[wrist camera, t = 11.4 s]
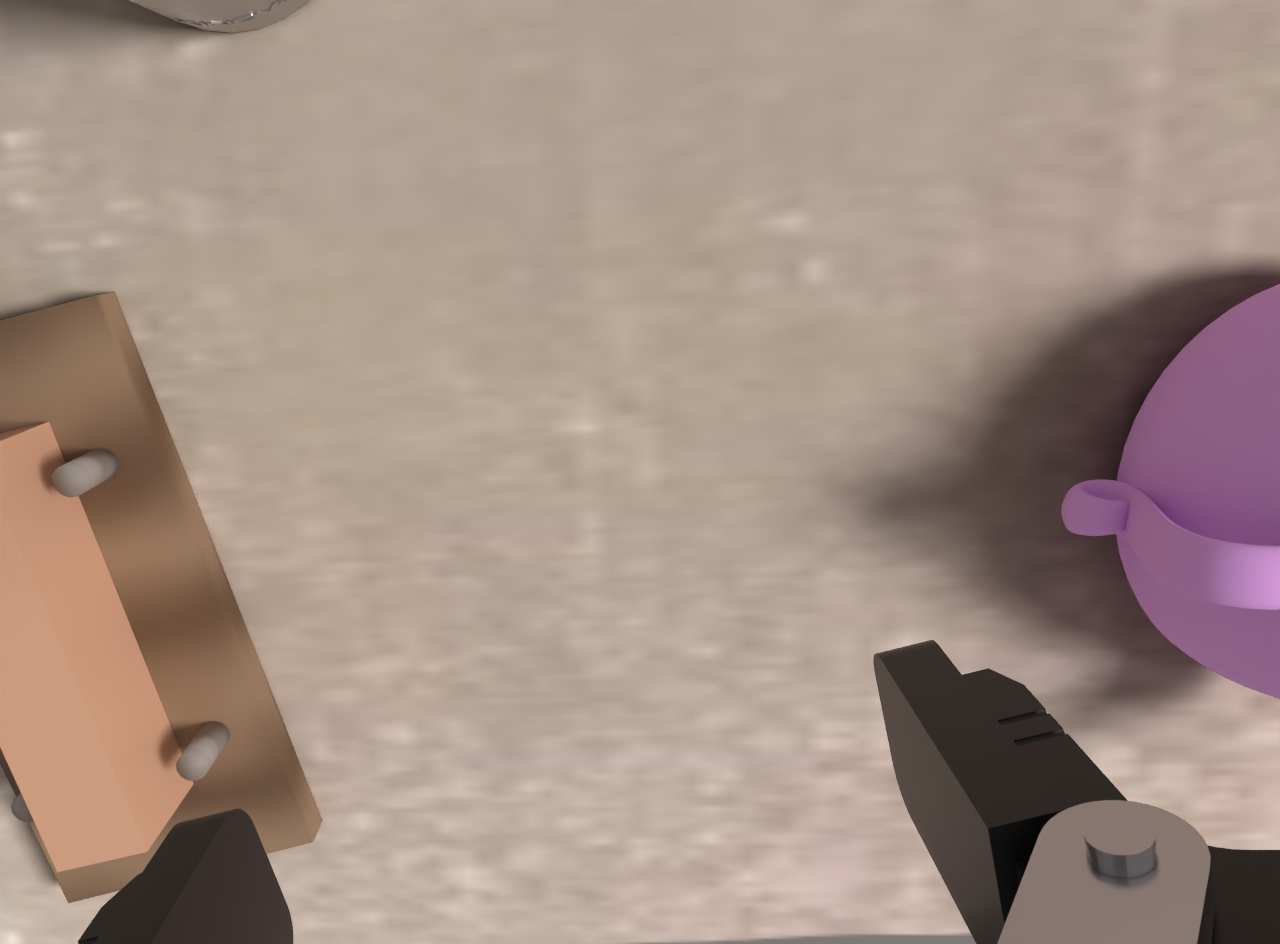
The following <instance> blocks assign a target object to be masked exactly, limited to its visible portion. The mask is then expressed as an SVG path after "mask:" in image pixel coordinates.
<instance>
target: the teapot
mask: <svg viewBox="0 0 1280 944" xmlns="http://www.w3.org/2000/svg"><path fill="white" fill-rule="evenodd" d="M1061 514H1062V518H1063V522H1064V524H1065V526H1066V528H1067V529H1068V530H1069V531H1070V532H1072V533H1075V534H1078V535H1086V536H1103V535H1112V534H1116V537H1117V543H1118V549H1119V554H1120V558H1121V561H1122V564H1123V567H1124V570H1125V573H1126V576H1127V579H1128V581H1129V584H1130V586H1131V588H1132V590H1133V592H1134V594H1135V596H1136V598H1137V600H1138V602H1139V604H1140V606H1141V608H1142V609H1143V610H1144V612H1145V613H1146V615H1147V616H1148V617H1149V619H1150V620H1151V622H1152V623H1153V624H1154V626H1155V627H1156V628H1157V629H1158V630H1159V631H1160V632H1161V633H1162V634H1163V635H1164V636H1165V637H1166V638H1167V639H1168V640H1169V641H1170V642H1171V643H1172V644H1174V645H1175V646H1176V647H1178V648H1179V649H1180V650H1182V651H1183V652H1184V653H1186V654H1187V655H1188V656H1190V657H1191V658H1193V659H1194V660H1196V661H1197V662H1199V663H1200V664H1202V665H1203V666H1205V667H1206V668H1208V669H1210V670H1212V671H1214V672H1216V673H1217V674H1219V675H1221V676H1223V677H1225V678H1227V679H1229V680H1231V681H1234V682H1236V683H1238V684H1240V685H1243V686H1245V687H1248V688H1250V689H1253V690H1256V691H1259V692H1261V693H1264V694H1267V695H1270V696H1273V697H1276V698H1279V699H1280V284H1278V285H1276V286H1274V287H1271V288H1269V289H1267V290H1264V291H1262V292H1260V293H1257V294H1255V295H1254V296H1252V297H1250V298H1248V299H1247V300H1245V301H1243V302H1241V303H1240V304H1238V305H1236V306H1235V307H1233V308H1231V309H1229V310H1228V311H1227V312H1225V313H1224V314H1223V315H1221V316H1220V317H1219V318H1217V319H1216V320H1215V321H1213V322H1212V323H1211V324H1209V325H1208V326H1207V327H1205V328H1204V329H1203V330H1202V331H1201V332H1200V333H1199V334H1198V335H1197V336H1196V337H1194V338H1193V339H1192V340H1191V341H1190V342H1189V343H1188V344H1187V345H1186V346H1185V347H1184V348H1183V349H1182V350H1181V351H1180V352H1179V354H1178V355H1177V356H1176V357H1175V358H1174V359H1173V361H1172V362H1171V363H1170V364H1169V365H1168V366H1167V368H1166V369H1165V370H1164V371H1163V373H1162V374H1161V376H1160V377H1159V379H1158V380H1157V382H1156V383H1155V385H1154V386H1153V387H1152V389H1151V390H1150V392H1149V393H1148V395H1147V397H1146V399H1145V401H1144V403H1143V405H1142V406H1141V408H1140V410H1139V412H1138V414H1137V416H1136V418H1135V420H1134V422H1133V425H1132V428H1131V430H1130V433H1129V436H1128V438H1127V441H1126V443H1125V446H1124V450H1123V454H1122V458H1121V462H1120V466H1119V470H1118V475H1117V481H1115V480H1106V479H1097V480H1088V481H1084V482H1081V483H1078V484H1076V485H1074V486H1073V487H1072V488H1071V489H1070V490H1069V491H1068V492H1067V494H1066V496H1065V498H1064V501H1063V503H1062V507H1061Z"/></svg>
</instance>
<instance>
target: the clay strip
mask: <svg viewBox="0 0 1280 944" xmlns="http://www.w3.org/2000/svg"><path fill="white" fill-rule="evenodd" d="M64 464H66V463H65V461H64V458H63V456H62V453H61V451H60V448H59V446H58V443H57V441H56V438H55V436H54V433H53V431H52V428H51V426H50V423H49V422H45V423H41V424H36V425H32V426H28V427H23V428H19V429H15V430H11V431H6V432H2V433H0V748H1V750H2V752H3V754H4V757H5V759H6V761H7V763H8V765H9V768H10V770H11V772H12V774H13V776H14V779H15V781H16V783H17V785H18V787H19V789H20V792H21V794H22V796H23V798H24V800H25V803H26V805H27V807H28V809H29V811H30V814H31V816H32V818H33V820H34V822H35V825H36V827H37V829H38V831H39V833H40V836H41V838H42V840H43V842H44V844H45V846H46V849H47V851H48V853H49V855H50V857H51V860H52V862H53V864H54V866H55V868H56V871H57V872H61V871H66V870H70V869H74V868H79V867H83V866H88V865H92V864H96V863H101V862H105V861H109V860H114V859H118V858H123V857H127V856H131V855H136V854H140V853H145V852H147V851H148V850H149V849H150V847H151V846H152V844H153V843H154V841H155V840H156V838H157V837H158V835H159V834H160V833H161V831H162V830H163V828H164V827H165V825H166V824H167V822H168V821H169V819H170V818H171V816H172V815H173V814H174V812H175V811H176V809H177V808H178V806H179V805H180V803H181V802H182V800H183V799H184V797H185V796H186V795H187V793H188V792H189V790H190V789H191V787H192V786H193V784H194V783H193V781H189V780H186V779H184V778H182V777H181V776H180V775H179V774H178V772H177V770H176V762H177V760H178V759H179V757H180V756H181V755H182V753H181V751H180V748H179V746H178V743H177V741H176V738H175V736H174V733H173V731H172V728H171V726H170V723H169V721H168V718H167V716H166V713H165V711H164V708H163V706H162V703H161V701H160V698H159V696H158V693H157V691H156V688H155V686H154V683H153V681H152V678H151V676H150V673H149V671H148V668H147V666H146V663H145V661H144V658H143V656H142V653H141V651H140V648H139V646H138V643H137V641H136V638H135V636H134V633H133V631H132V628H131V626H130V623H129V621H128V618H127V616H126V613H125V611H124V608H123V606H122V603H121V601H120V598H119V596H118V593H117V591H116V588H115V586H114V583H113V581H112V578H111V576H110V573H109V571H108V568H107V566H106V563H105V561H104V558H103V556H102V553H101V551H100V548H99V546H98V543H97V541H96V538H95V536H94V533H93V531H92V528H91V526H90V523H89V521H88V518H87V516H86V513H85V511H84V508H83V506H82V503H81V501H80V498H79V496H77V497H66V496H63V495H62V494H60V493H59V492H58V491H57V490H56V489H55V488H54V486H53V483H52V475H53V472H54V471H55V470H56V469H57V468H58V467H60V466H62V465H64Z"/></svg>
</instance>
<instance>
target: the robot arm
mask: <svg viewBox="0 0 1280 944" xmlns="http://www.w3.org/2000/svg"><path fill="white" fill-rule="evenodd" d="M129 1H131V2H133V3H136V4H138V5H140V6H142V7H145V8H147V9H149V10H152V11H154V12H156V13H158V14H161V15H163V16H165V17H167V18H170V19H172V20H174V21H177V22H179V23H183V24H186V25H189V26H192V27H196V28H199V29H202V30H206V31H218V32H231V33H235V32H242V31H249V30H255V29H261V28H264V27H266V26H269V25H271V24H274V23H276V22H279V21H281V20H284V19H286V18H287V17H289V16H290V15H291V14H293V13H294V12H296V11H297V10H298V9H300V8H301V7H303V6H304V5H306V4H307V3H308V2H309V1H310V0H129ZM874 669H875V675H876V680H877V685H878V691H879V696H880V701H881V706H882V711H883V716H884V721H885V726H886V731H887V736H888V741H889V746H890V751H891V756H892V761H893V766H894V770H895V774H896V778H897V781H898V785H899V788H900V791H901V794H902V797H903V800H904V802H905V805H906V808H907V810H908V812H909V814H910V817H911V819H912V821H913V822H914V824H915V826H916V828H917V830H918V832H919V834H920V836H921V838H922V840H923V842H924V844H925V846H926V847H927V849H928V851H929V853H930V855H931V857H932V859H933V861H934V863H935V865H936V867H937V869H938V871H939V872H940V874H941V876H942V878H943V880H944V882H945V884H946V886H947V888H948V890H949V892H950V894H951V896H952V898H953V899H954V901H955V903H956V905H957V907H958V909H959V911H960V913H961V915H962V917H963V919H964V921H965V923H966V924H967V926H968V928H969V930H970V932H971V934H972V936H973V938H974V940H975V942H976V943H977V944H1280V850H1233V849H1225V848H1217V847H1212V846H1207V844H1206V842H1205V841H1204V839H1203V837H1202V836H1201V835H1200V834H1199V833H1198V832H1197V830H1196V829H1195V828H1193V827H1192V826H1191V825H1190V824H1188V823H1187V822H1186V821H1185V820H1183V819H1181V818H1179V817H1178V816H1176V815H1174V814H1172V813H1170V812H1168V811H1165V810H1163V809H1161V808H1157V807H1154V806H1151V805H1148V804H1143V803H1138V802H1132V801H1127V799H1126V798H1125V797H1124V796H1123V795H1122V794H1121V793H1120V792H1119V791H1118V789H1117V788H1116V787H1115V786H1114V785H1113V784H1112V783H1111V782H1110V780H1109V779H1108V778H1107V777H1106V776H1105V775H1104V774H1103V773H1102V772H1101V770H1100V769H1099V768H1098V767H1097V766H1096V765H1095V764H1094V763H1093V762H1092V760H1091V759H1090V758H1089V757H1088V756H1087V755H1086V754H1085V753H1084V751H1083V750H1082V749H1081V748H1080V747H1079V746H1078V745H1077V744H1076V743H1075V741H1074V740H1073V739H1072V738H1071V737H1070V736H1069V735H1068V734H1065V733H1064V731H1063V728H1062V727H1061V726H1060V725H1059V724H1058V722H1057V721H1056V720H1055V719H1054V718H1053V717H1052V716H1051V715H1050V714H1047V713H1046V710H1045V708H1044V707H1043V706H1042V705H1041V703H1040V702H1039V701H1038V700H1037V699H1036V698H1035V697H1034V696H1033V695H1032V693H1031V692H1030V691H1029V690H1028V689H1027V688H1026V687H1025V686H1024V685H1023V684H1021V683H1019V682H1017V681H1014V680H1012V679H1010V678H1008V677H1006V676H1004V675H1001V674H999V673H997V672H995V671H993V670H991V669H984V670H980V671H976V672H972V673H968V674H964V675H961V673H960V672H959V671H958V670H957V668H956V667H955V666H954V664H953V663H952V662H951V661H950V659H949V658H948V657H947V655H946V654H945V653H944V652H943V650H942V649H941V648H940V647H939V645H938V644H937V643H936V642H935V641H934V640H930V641H926V642H922V643H918V644H914V645H910V646H906V647H902V648H897V649H893V650H889V651H885V652H881V653H877V654H875V655H874ZM78 943H79V944H293V927H292V920H291V916H290V912H289V909H288V906H287V904H286V901H285V899H284V896H283V894H282V891H281V889H280V886H279V884H278V882H277V879H276V877H275V874H274V872H273V869H272V867H271V864H270V862H269V859H268V857H267V855H266V852H265V850H264V847H263V845H262V842H261V840H260V837H259V835H258V833H257V830H256V828H255V825H254V823H253V821H252V819H251V818H250V816H249V815H248V814H247V813H246V812H245V811H243V810H241V809H233V810H228V811H224V812H220V813H216V814H212V815H208V816H204V817H200V818H196V819H192V820H188V821H183V822H180V823H177V824H176V825H175V826H173V828H172V829H171V830H170V832H169V833H168V835H167V836H166V838H165V839H164V841H163V842H162V844H161V845H160V847H159V848H158V850H157V851H156V852H155V854H154V855H153V857H152V858H151V860H150V861H149V863H148V864H147V866H146V867H145V869H144V870H143V872H142V873H140V874H138V875H137V876H136V877H135V878H133V879H132V880H131V881H130V882H129V883H128V884H127V885H126V886H125V887H123V888H122V889H121V890H120V891H119V892H118V893H117V894H116V895H115V896H114V897H112V898H111V899H110V900H109V901H108V902H107V903H106V904H105V905H104V906H103V907H102V908H101V909H100V910H99V912H98V913H97V915H96V916H95V918H94V919H93V920H92V922H91V923H90V925H89V926H88V928H87V929H86V931H85V932H84V933H83V935H82V936H81V938H80V939H79V941H78Z"/></svg>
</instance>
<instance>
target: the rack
mask: <svg viewBox="0 0 1280 944" xmlns="http://www.w3.org/2000/svg"><path fill="white" fill-rule="evenodd" d="M45 422H49V423H50V426H51V428H52V431H53V433H54V436H55V438H56V441H57V443H58V446H59V448H60V451H61V453H62V456H63V458H64V461H65V463H66V464H64V465H62V466H60V467H58V468H57V469H56V470H55V471H54V472H53V475H52V483H53V486H54V488H55V489H56V490H57V491H58V492H59V493H60V494H62V495H63V496H66V497H77V496H79V498H80V501H81V503H82V506H83V508H84V511H85V513H86V516H87V518H88V521H89V523H90V526H91V528H92V531H93V533H94V536H95V538H96V541H97V543H98V546H99V548H100V551H101V553H102V556H103V558H104V561H105V563H106V566H107V568H108V571H109V573H110V576H111V578H112V581H113V583H114V586H115V588H116V591H117V593H118V596H119V598H120V601H121V603H122V606H123V608H124V611H125V613H126V616H127V618H128V621H129V623H130V626H131V628H132V631H133V633H134V636H135V638H136V641H137V643H138V646H139V648H140V651H141V653H142V656H143V658H144V661H145V663H146V666H147V668H148V671H149V673H150V676H151V678H152V681H153V683H154V686H155V688H156V691H157V693H158V696H159V698H160V701H161V703H162V706H163V708H164V711H165V713H166V716H167V718H168V721H169V723H170V726H171V728H172V731H173V733H174V736H175V738H176V741H177V743H178V746H179V748H180V751H181V753H182V755H181V756H180V757H179V759H178V760H177V762H176V770H177V772H178V774H179V775H180V776H181V777H182V778H184V779H186V780H189V781H193V783H194V784H193V786H192V787H191V789H190V790H189V792H188V793H187V795H186V796H185V797H184V799H183V800H182V802H181V803H180V805H179V806H178V808H177V809H176V811H175V812H174V814H173V815H172V816H171V818H170V819H169V821H168V822H167V824H166V825H165V827H164V828H163V830H162V831H161V833H160V834H159V835H158V837H157V838H156V840H155V841H154V843H153V844H152V846H151V847H150V849H149V850H148V851H147V852H145V853H140V854H136V855H131V856H127V857H123V858H118V859H114V860H109V861H105V862H101V863H96V864H92V865H88V866H83V867H79V868H74V869H70V870H66V871H61V872H57V871H56V868H55V866H54V864H53V862H52V860H51V857H50V855H49V853H48V851H47V849H46V846H45V844H44V842H43V840H42V838H41V836H40V833H39V831H38V829H37V827H36V825H35V822H34V820H33V818H32V816H31V814H30V811H29V809H28V807H27V805H26V803H25V800H24V798H23V796H22V794H21V792H20V789H19V787H18V785H17V783H16V781H15V779H14V776H13V774H12V772H11V770H10V768H9V765H8V763H7V761H6V759H5V757H4V754H3V752H2V750H1V748H0V764H1V766H2V768H3V770H4V772H5V774H6V776H7V778H8V780H9V782H10V784H11V786H12V788H13V790H14V792H15V795H16V798H15V799H14V801H13V802H12V805H11V808H12V812H13V814H14V815H15V816H16V817H17V818H18V819H20V820H22V821H25V822H29V823H30V825H31V827H32V829H33V831H34V833H35V836H36V838H37V840H38V842H39V844H40V846H41V848H42V850H43V852H44V854H45V856H46V858H47V860H48V862H49V864H50V866H51V868H52V870H53V872H54V874H55V877H56V879H57V881H58V883H59V885H60V887H61V889H62V891H63V893H64V895H65V897H66V899H67V901H68V903H71V902H75V901H79V900H83V899H87V898H91V897H95V896H99V895H103V894H107V893H111V892H115V891H119V890H121V889H122V888H123V887H125V886H126V885H127V884H128V883H129V882H130V881H131V880H132V879H133V878H135V877H136V876H137V875H138V874H140V873H142V872H143V870H144V869H145V867H146V866H147V864H148V863H149V861H150V860H151V858H152V857H153V855H154V854H155V852H156V851H157V850H158V848H159V847H160V845H161V844H162V842H163V841H164V839H165V838H166V836H167V835H168V833H169V832H170V830H171V829H172V828H173V826H175V825H176V824H177V823H180V822H183V821H188V820H192V819H196V818H200V817H204V816H208V815H212V814H216V813H220V812H224V811H228V810H233V809H241V810H243V811H245V812H246V813H247V814H248V815H249V816H250V818H251V819H252V821H253V823H254V825H255V828H256V830H257V833H258V835H259V837H260V840H261V842H262V845H263V847H264V850H265V852H266V854H267V853H271V852H275V851H279V850H283V849H287V848H291V847H295V846H299V845H303V844H307V843H311V842H313V841H314V839H315V837H316V834H317V832H318V830H319V827H320V825H321V823H322V819H321V816H320V814H319V811H318V809H317V806H316V804H315V801H314V799H313V796H312V793H311V791H310V788H309V786H308V783H307V781H306V778H305V776H304V773H303V771H302V768H301V765H300V763H299V760H298V758H297V755H296V753H295V750H294V748H293V745H292V743H291V740H290V737H289V735H288V732H287V730H286V727H285V725H284V722H283V720H282V717H281V715H280V712H279V709H278V707H277V704H276V702H275V699H274V697H273V694H272V692H271V689H270V687H269V684H268V681H267V679H266V676H265V674H264V671H263V669H262V666H261V664H260V661H259V659H258V656H257V654H256V651H255V648H254V646H253V643H252V641H251V638H250V636H249V633H248V631H247V628H246V626H245V623H244V620H243V618H242V615H241V613H240V610H239V608H238V605H237V603H236V600H235V598H234V595H233V592H232V590H231V587H230V585H229V582H228V580H227V577H226V575H225V572H224V570H223V567H222V564H221V562H220V559H219V557H218V554H217V552H216V549H215V547H214V544H213V542H212V539H211V536H210V534H209V531H208V529H207V526H206V524H205V521H204V519H203V516H202V514H201V511H200V508H199V506H198V503H197V501H196V498H195V496H194V493H193V491H192V488H191V486H190V483H189V480H188V478H187V475H186V473H185V470H184V468H183V465H182V463H181V460H180V458H179V455H178V452H177V450H176V447H175V445H174V442H173V440H172V437H171V435H170V432H169V430H168V427H167V424H166V422H165V419H164V417H163V414H162V412H161V409H160V407H159V404H158V402H157V399H156V397H155V394H154V391H153V389H152V386H151V384H150V381H149V379H148V376H147V374H146V371H145V369H144V366H143V363H142V361H141V358H140V356H139V353H138V351H137V348H136V346H135V343H134V341H133V338H132V335H131V333H130V330H129V328H128V325H127V323H126V320H125V318H124V315H123V313H122V310H121V307H120V305H119V302H118V300H117V297H116V295H115V292H111V293H105V294H100V295H95V296H91V297H87V298H83V299H80V300H76V301H72V302H68V303H64V304H60V305H57V306H53V307H49V308H45V309H41V310H37V311H34V312H30V313H26V314H22V315H18V316H15V317H11V318H7V319H3V320H0V433H2V432H6V431H11V430H15V429H19V428H23V427H28V426H32V425H36V424H41V423H45Z"/></svg>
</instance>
